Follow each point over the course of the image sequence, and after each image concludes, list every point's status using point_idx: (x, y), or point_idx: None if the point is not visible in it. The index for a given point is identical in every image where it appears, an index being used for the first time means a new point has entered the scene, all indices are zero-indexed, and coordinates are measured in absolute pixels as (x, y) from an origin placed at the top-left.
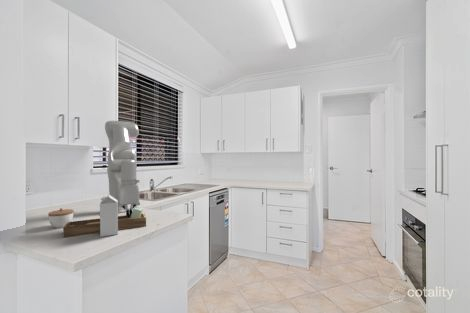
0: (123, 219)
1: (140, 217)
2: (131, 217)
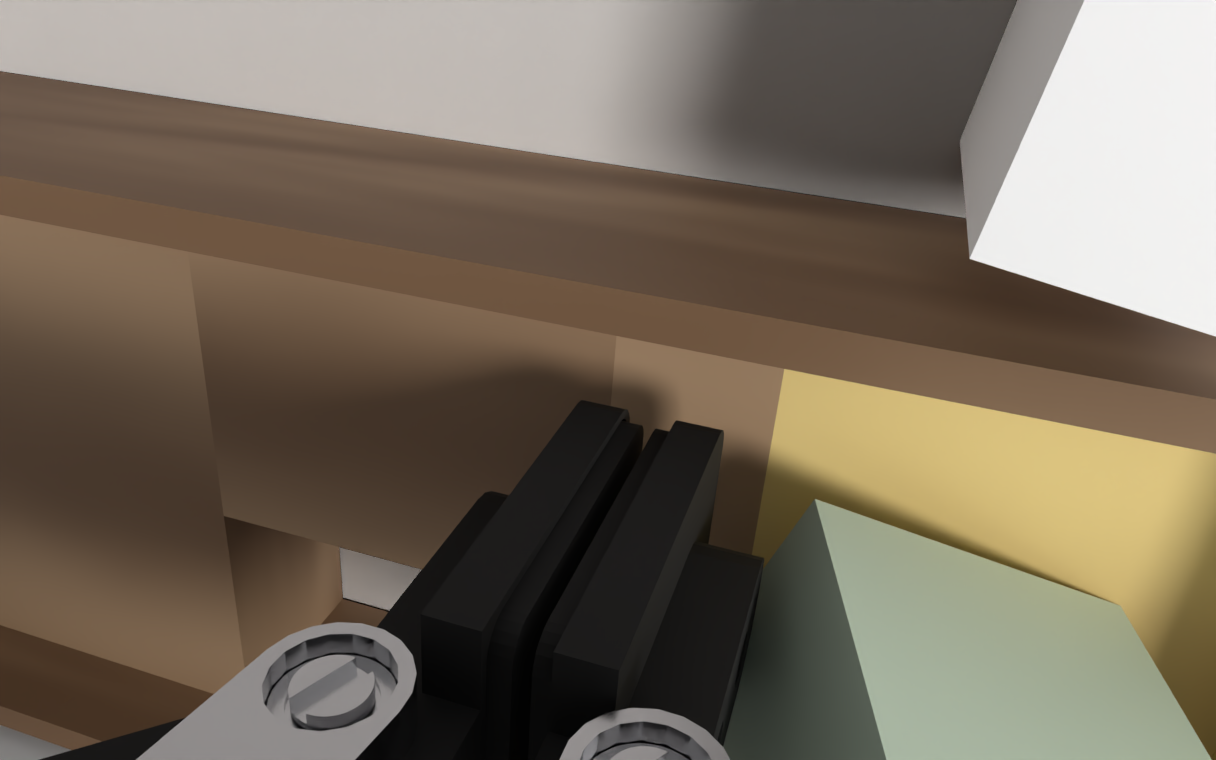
0: (461, 385)
1: (1163, 548)
2: None
